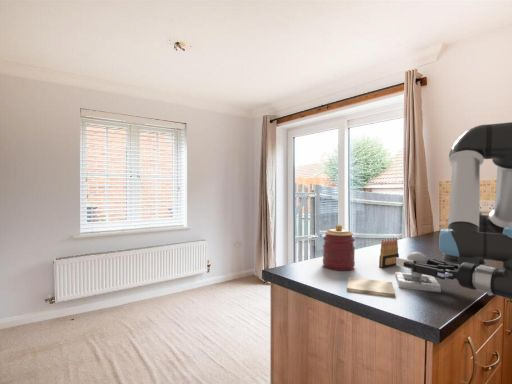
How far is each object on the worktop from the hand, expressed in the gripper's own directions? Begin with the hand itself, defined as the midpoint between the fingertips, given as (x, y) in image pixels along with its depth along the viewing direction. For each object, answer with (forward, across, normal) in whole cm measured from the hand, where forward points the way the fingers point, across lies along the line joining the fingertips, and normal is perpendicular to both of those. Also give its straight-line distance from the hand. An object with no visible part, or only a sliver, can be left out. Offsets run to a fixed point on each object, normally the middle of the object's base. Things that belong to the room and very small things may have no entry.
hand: (402, 260), depth 104 cm
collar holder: (-5, 0, -7) cm, 9 cm away
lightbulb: (-5, 0, -7) cm, 9 cm away
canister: (+24, -6, -8) cm, 26 cm away
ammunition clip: (+14, +13, -8) cm, 21 cm away
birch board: (+1, -17, -7) cm, 19 cm away
